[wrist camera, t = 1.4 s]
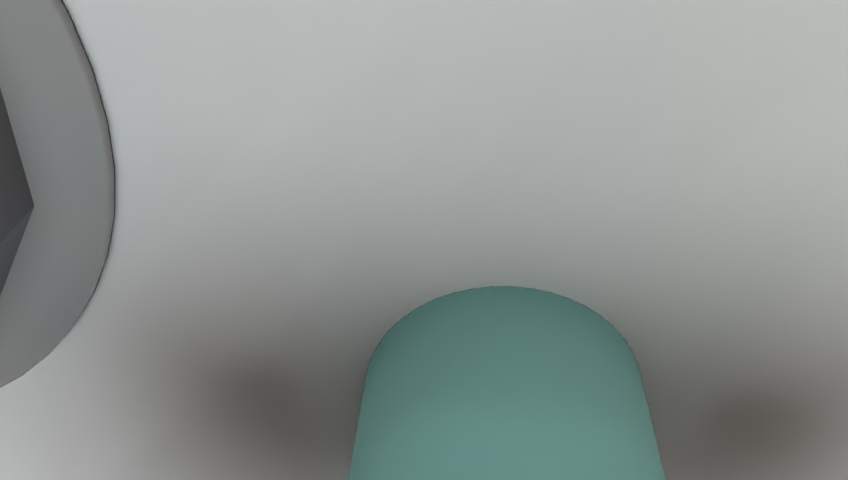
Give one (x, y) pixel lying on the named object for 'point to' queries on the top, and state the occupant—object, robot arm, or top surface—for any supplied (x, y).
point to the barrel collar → (48, 182)
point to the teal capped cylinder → (504, 394)
